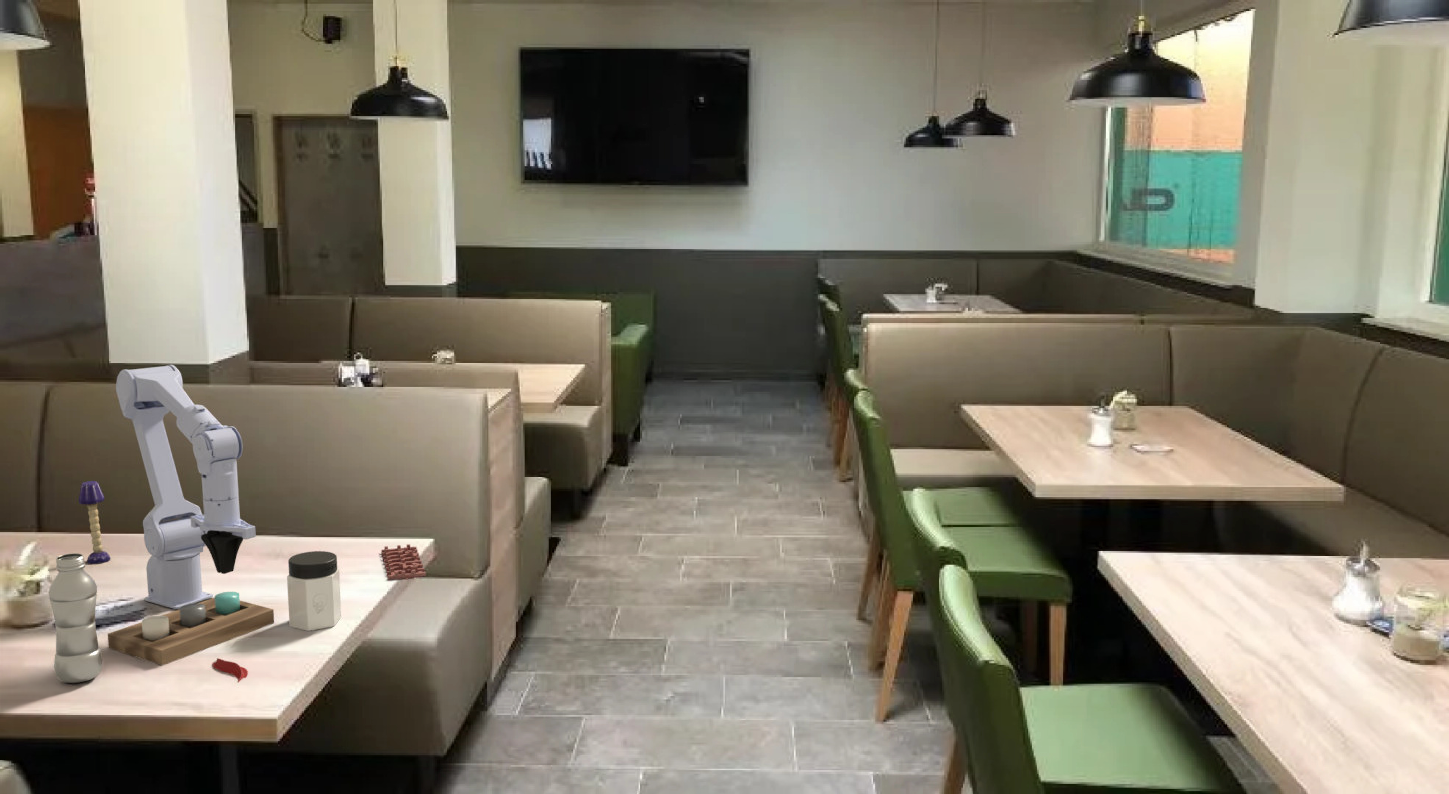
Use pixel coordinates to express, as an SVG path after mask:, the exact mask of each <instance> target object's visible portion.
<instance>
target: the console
mask: <svg viewBox="0 0 1449 794" xmlns="http://www.w3.org/2000/svg"><path fill="white" fill-rule="evenodd" d="M199 603H200V604H204V605H205V616H206V622H205V623H204V624H201V625H198V626H195V627H183V626H181V625H180V612H179V609H175V610H174V611H171V612H168V613H165V614H162V615H160V616H166V617H168V620H169V636H168V637H165V638H162V639H159V640H151V641H150V640H144V639H143V632H142V621H141V622H138V623H136V624H133V625H129V626H126V627H123V628H121V629H117V630H115V631H112V632H111V631H110V632H108V633H107V643H108V649H111V650H114V651H118V652H119V653H123V654H126V655H129V656H131V657H132V656H133V657H135V658H139V659H142V660H145V661H148V662H151V663H154V664H157V665H161V666H164V665H168V664H169V663H173V662H175V661H177V660H180V659H182V658H185V657H189V656H191V655H194V654H196V653H199V652H202V651H203V650H206V649H208V648H212V647H214V646H217V645H220V644H223V643H225V642H228V641H230V640H233V639H235V638H238V637H241V636H244V635H246V634H248V633H251V632H254V631H256V630H259V629H262V628H264V627H267V626H269V625H272V624H275V614H274V609H273V608H269V607H266V606H262V605H259V604H255V603H251V602H247V601H243V600H240V610H239V611H237V612H235V613H232V614H226V615H221V614H217V613H216V610H215V597H211V598H208V599H205V600H202V601H200V602H199Z"/></svg>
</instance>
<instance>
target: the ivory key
mask: <svg viewBox="0 0 1449 794" xmlns="http://www.w3.org/2000/svg"><path fill="white" fill-rule="evenodd" d="M141 622H142V632H143V639H144V640H150V641H151V640H159V639H162V638H165V637H168V636H169V620H168V617H166V616H161V615H154V616H149V617H146V618H144V619H142V621H141Z"/></svg>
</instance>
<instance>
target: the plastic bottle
mask: <svg viewBox="0 0 1449 794" xmlns="http://www.w3.org/2000/svg"><path fill="white" fill-rule="evenodd" d="M84 559H85V557H84V554H83V553H79V552H78V553H77V552H75V553H74V552H73V553H66V554H62V555H58V556H57V557H56V558H55V561H56V562H55V563H56V566H55V568H56V571H58V573H57V575H56V576H55V578H54V579H53V581H52V582H51V584H50V586H49V590H48V598H49V601H50V605H51V609H52V613H53V619H54V626H55V634H56V636H55V654H54V660H53V662H54V664H53V669H54V672H55V675H56V678H57V679H58V680H59V681H61V682H62V683H67V684H71V683H72V684H75V683H76V684H77V683H81V682H85V681H89V680H92V679H94V678H96V677H97V676H98V675H99V674H100V672H101V671H102V668H103V661H104V659H103V655H102V651H101V648H100V647H99V640H98V634H97V628H96V607H97V605H96V604H97V598H98V597H97V596H98V595H97V592H98V586H97V583H96V581H95V579H94V578H93V577H92V576H91V575H90V574H89V573H88V572H86V570H84V568H85V567H86V562H85V560H84Z"/></svg>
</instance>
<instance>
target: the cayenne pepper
mask: <svg viewBox="0 0 1449 794" xmlns="http://www.w3.org/2000/svg"><path fill="white" fill-rule="evenodd" d="M212 667H213V668H214V669H216V670H217V671H220V672H222V673H223V672H224V673H225V674H226V673H227V674H230V675H232V676H234V677H236V679H237V680H238V681H237V683H239V682H241V681H242V680H243V679H246V678H247V677H248V675H249V674H248V673H249V671H248V669H246V668H245V667H243V666H241V665H239V664H238V663H236V662H233V661H229V660H224V659H221V658H219V657H218V658H216V661H215V662H212Z"/></svg>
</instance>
